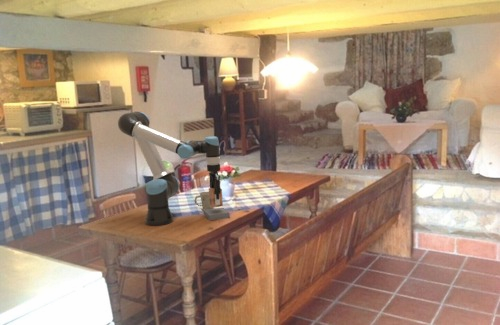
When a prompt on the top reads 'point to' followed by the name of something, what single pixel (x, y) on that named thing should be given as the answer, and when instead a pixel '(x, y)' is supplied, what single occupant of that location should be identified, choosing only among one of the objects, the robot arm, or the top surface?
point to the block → (212, 198)
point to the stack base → (216, 214)
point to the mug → (204, 200)
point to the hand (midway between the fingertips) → (216, 203)
